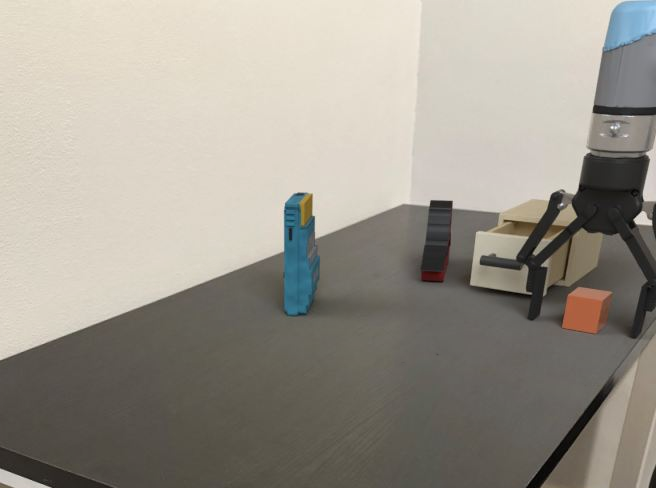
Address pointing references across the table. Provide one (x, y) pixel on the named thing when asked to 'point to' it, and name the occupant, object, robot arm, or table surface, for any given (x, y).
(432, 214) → the extruded letter emblem
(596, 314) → the block
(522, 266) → the drawer
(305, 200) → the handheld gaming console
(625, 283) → the table surface
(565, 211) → the cabinet
